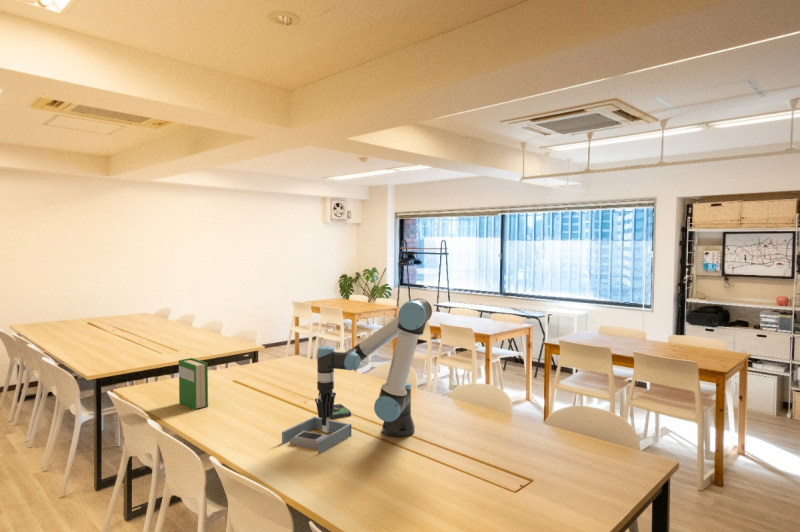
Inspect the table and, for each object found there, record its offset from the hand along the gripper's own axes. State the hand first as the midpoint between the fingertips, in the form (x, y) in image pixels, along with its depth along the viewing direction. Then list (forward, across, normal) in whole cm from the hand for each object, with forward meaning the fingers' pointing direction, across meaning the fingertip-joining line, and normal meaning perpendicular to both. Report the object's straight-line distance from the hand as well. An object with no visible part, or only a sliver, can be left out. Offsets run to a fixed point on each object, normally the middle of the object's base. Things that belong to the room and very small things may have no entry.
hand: (325, 431), depth 226 cm
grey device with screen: (+2, +11, 0) cm, 11 cm away
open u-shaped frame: (+1, +5, 0) cm, 5 cm away
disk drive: (+2, -26, -13) cm, 29 cm away
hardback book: (+2, +2, -88) cm, 88 cm away
